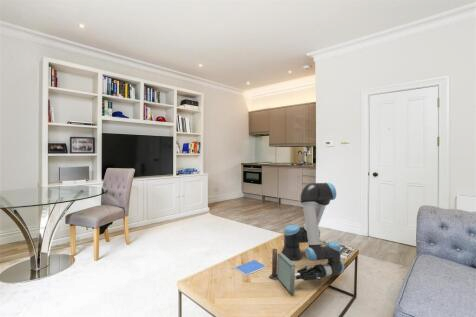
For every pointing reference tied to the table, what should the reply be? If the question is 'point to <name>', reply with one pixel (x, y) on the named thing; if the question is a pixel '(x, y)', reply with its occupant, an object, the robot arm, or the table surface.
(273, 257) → the hinge post
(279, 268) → the panel
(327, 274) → the robot arm
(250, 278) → the table surface
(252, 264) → the tablet computer
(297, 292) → the table surface
